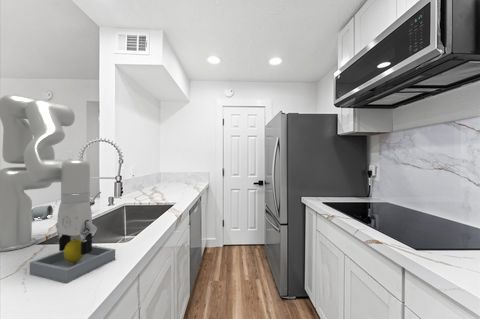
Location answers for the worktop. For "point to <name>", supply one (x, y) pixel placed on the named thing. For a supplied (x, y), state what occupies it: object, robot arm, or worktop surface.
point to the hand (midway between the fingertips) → (75, 251)
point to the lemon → (73, 251)
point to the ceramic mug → (42, 211)
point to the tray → (71, 264)
